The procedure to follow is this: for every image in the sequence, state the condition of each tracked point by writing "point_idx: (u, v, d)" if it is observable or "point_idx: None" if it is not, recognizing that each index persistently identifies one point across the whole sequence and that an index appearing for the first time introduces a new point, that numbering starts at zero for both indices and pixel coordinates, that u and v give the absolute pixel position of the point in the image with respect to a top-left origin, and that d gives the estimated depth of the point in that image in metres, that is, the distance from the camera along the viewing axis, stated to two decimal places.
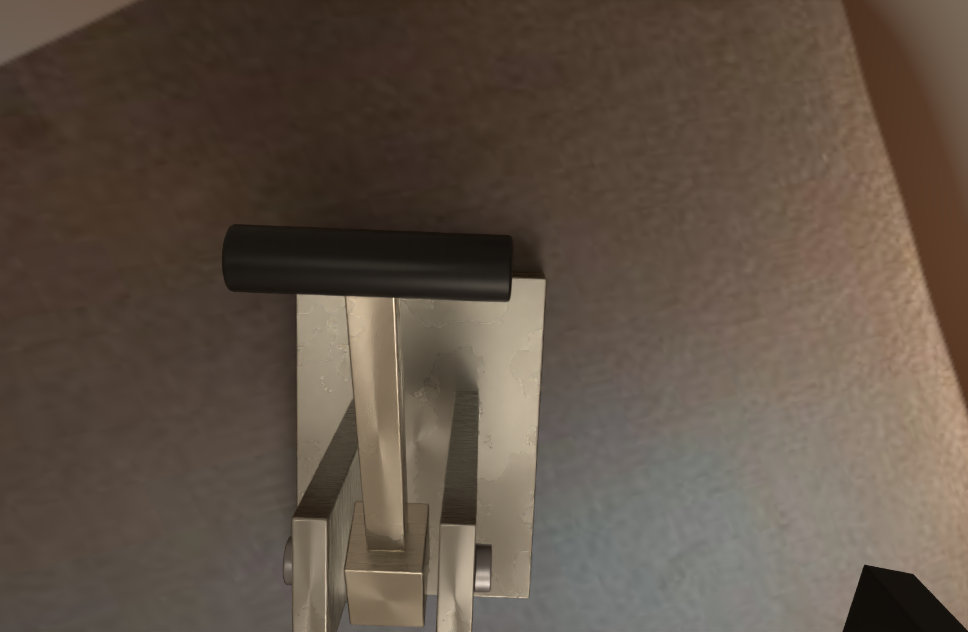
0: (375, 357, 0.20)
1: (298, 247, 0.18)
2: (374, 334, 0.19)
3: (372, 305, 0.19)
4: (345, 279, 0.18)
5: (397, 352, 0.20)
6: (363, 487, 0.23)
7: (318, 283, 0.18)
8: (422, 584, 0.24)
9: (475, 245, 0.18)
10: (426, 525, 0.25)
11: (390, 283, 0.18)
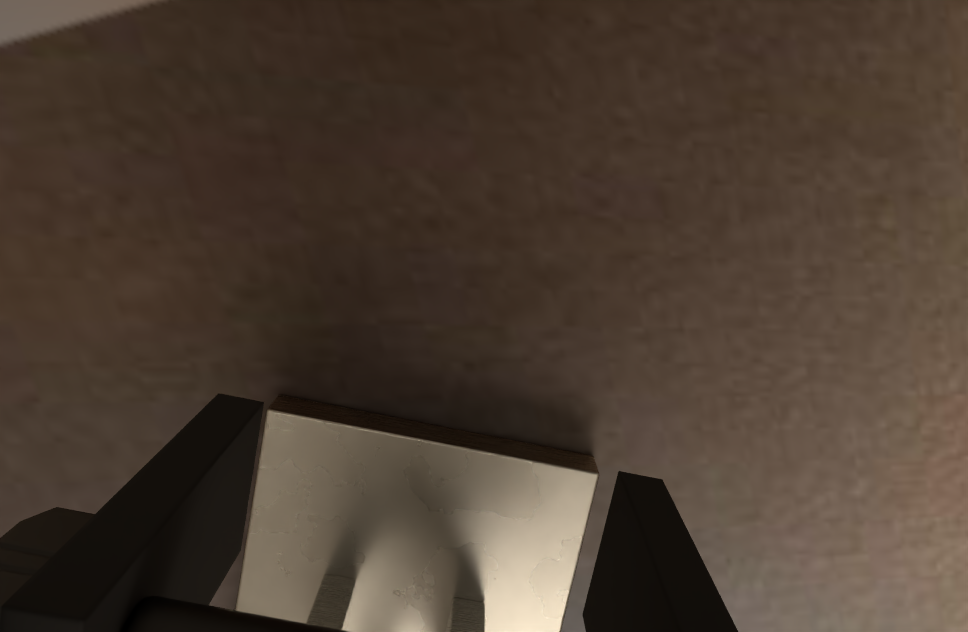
0: None
1: None
2: None
3: None
4: None
5: None
6: None
7: None
8: None
9: None
10: None
11: None
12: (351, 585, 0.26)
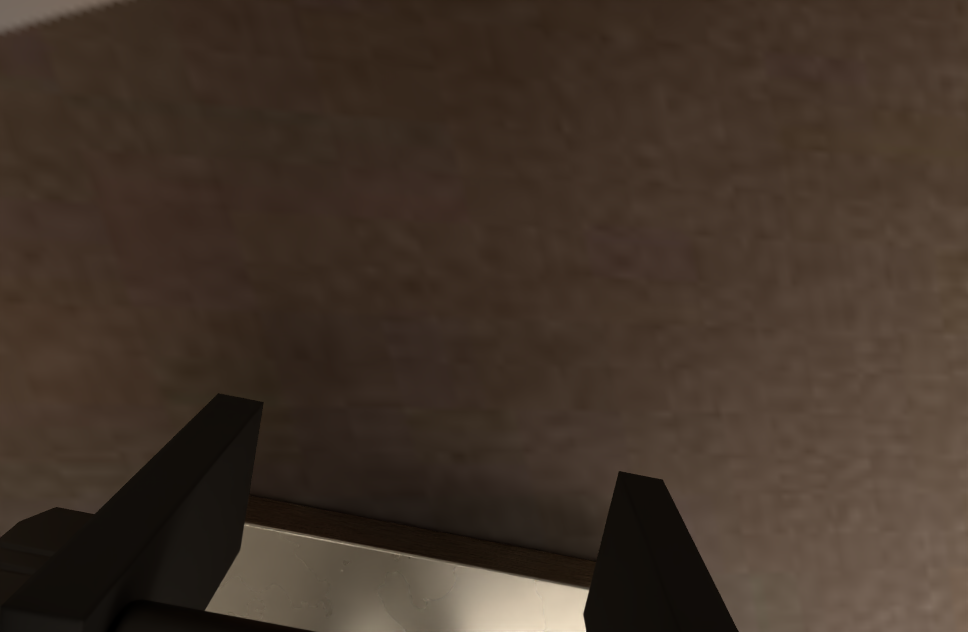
0: None
1: None
2: None
3: None
4: None
5: None
6: None
7: None
8: None
9: None
10: None
11: None
12: None
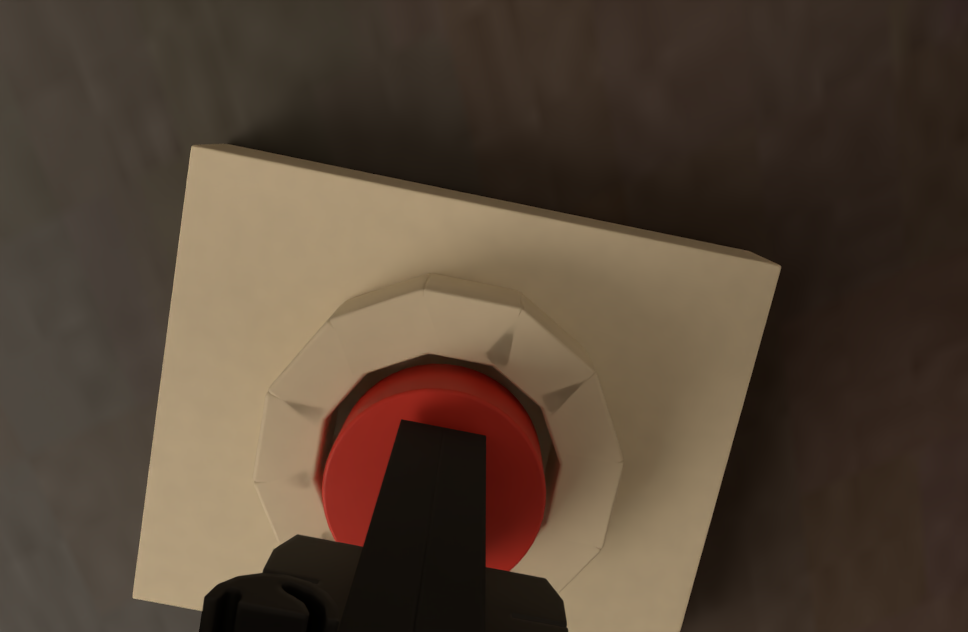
0: None
1: None
2: None
3: None
4: None
5: None
6: None
7: None
8: None
9: None
10: None
11: None
12: None
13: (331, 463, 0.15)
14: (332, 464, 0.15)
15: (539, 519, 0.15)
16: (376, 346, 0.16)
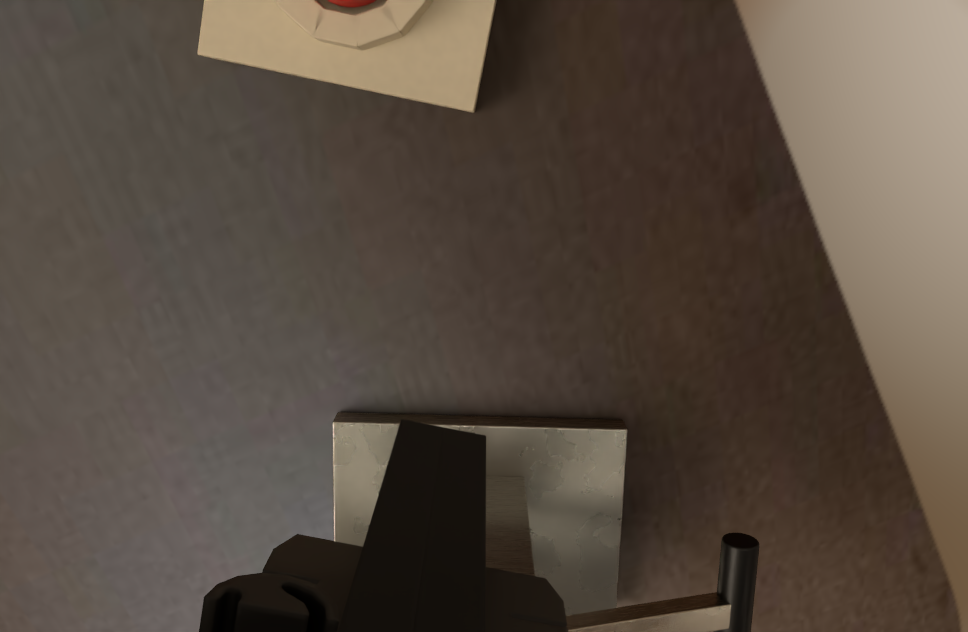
0: (691, 624, 0.34)
1: (755, 578, 0.35)
2: (706, 621, 0.34)
3: (725, 618, 0.34)
4: (747, 607, 0.34)
5: None
6: (583, 629, 0.32)
7: (745, 594, 0.34)
8: None
9: None
10: None
11: (744, 628, 0.35)
12: None
13: None
14: None
15: None
16: None
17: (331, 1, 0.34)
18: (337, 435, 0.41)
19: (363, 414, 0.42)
